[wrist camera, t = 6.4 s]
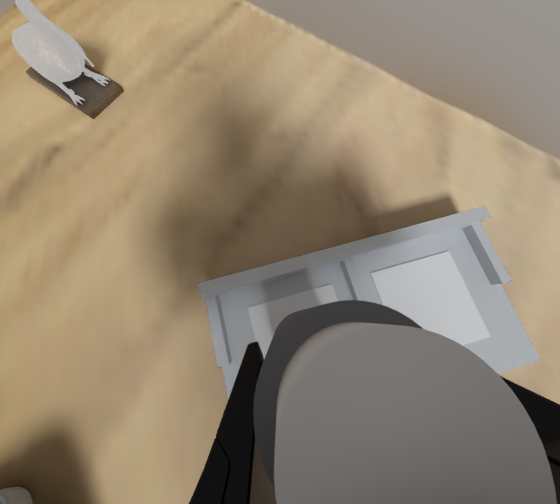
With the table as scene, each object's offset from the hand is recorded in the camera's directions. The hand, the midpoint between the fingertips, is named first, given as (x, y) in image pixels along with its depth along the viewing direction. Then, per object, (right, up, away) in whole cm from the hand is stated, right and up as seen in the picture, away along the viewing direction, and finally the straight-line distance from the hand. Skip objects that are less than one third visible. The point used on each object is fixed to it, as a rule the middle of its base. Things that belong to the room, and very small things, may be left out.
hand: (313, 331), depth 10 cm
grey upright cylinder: (0, -3, +6) cm, 7 cm away
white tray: (+5, -2, +9) cm, 11 cm away
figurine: (-22, +20, +15) cm, 33 cm away
